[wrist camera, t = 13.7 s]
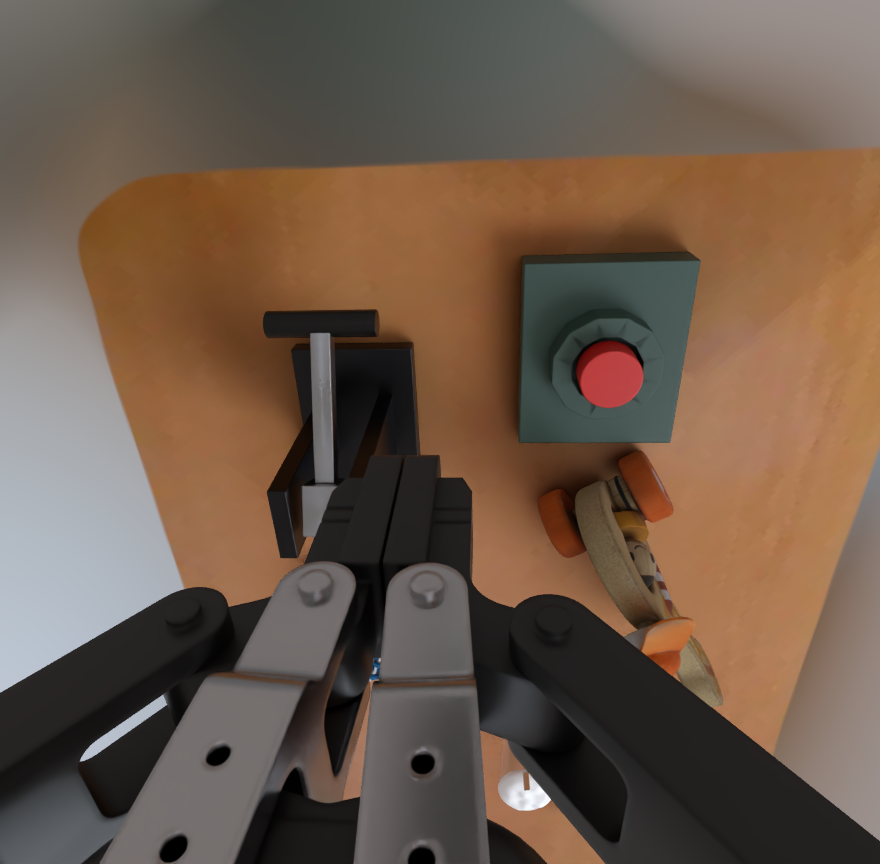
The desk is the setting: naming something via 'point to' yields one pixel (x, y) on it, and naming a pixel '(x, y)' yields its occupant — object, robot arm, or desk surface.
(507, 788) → the milkshake
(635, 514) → the toy helicopter
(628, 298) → the button block
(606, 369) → the button
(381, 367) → the bracket
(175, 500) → the desk surface
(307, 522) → the lever
